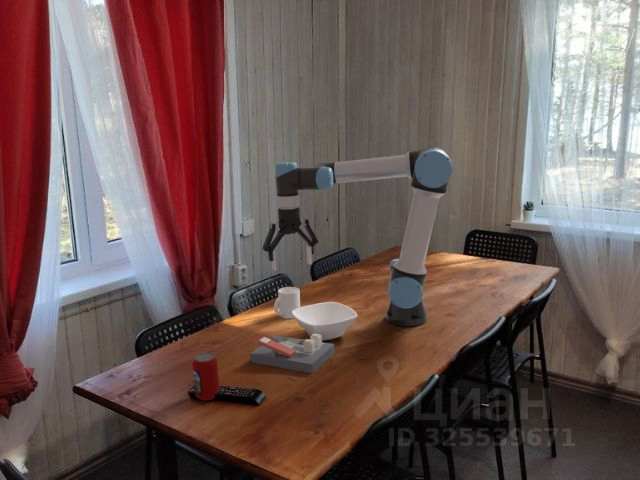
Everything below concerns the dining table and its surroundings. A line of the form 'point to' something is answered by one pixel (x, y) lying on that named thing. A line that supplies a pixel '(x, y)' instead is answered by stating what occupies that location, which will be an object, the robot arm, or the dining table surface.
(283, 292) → the mug
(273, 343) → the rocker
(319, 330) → the bowl
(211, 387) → the beverage can
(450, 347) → the dining table surface
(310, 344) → the slider
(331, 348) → the panel
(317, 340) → the slider
